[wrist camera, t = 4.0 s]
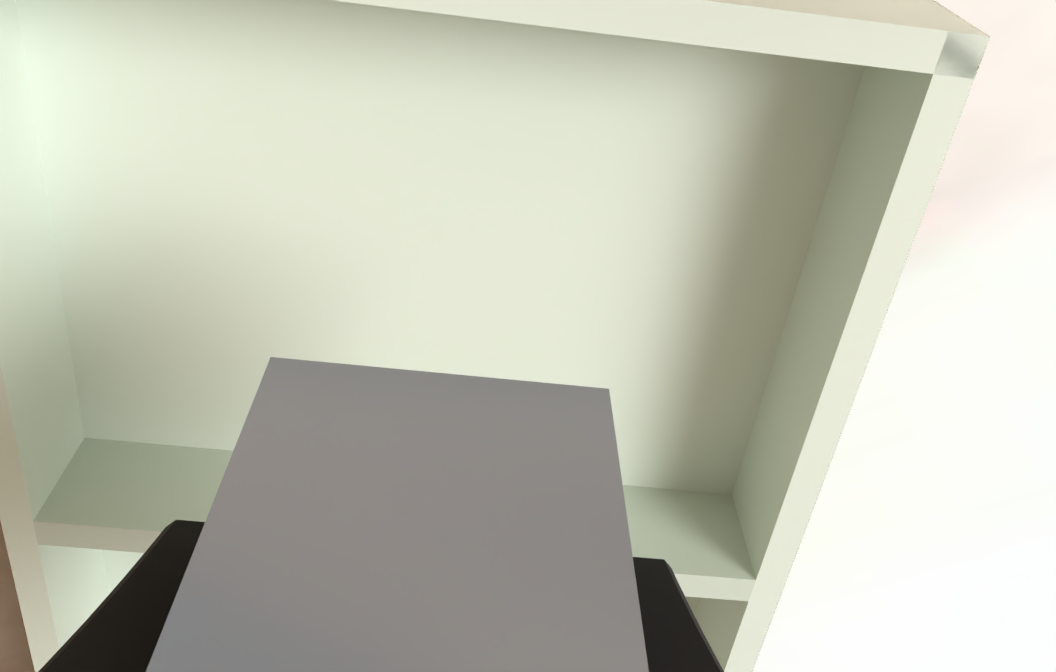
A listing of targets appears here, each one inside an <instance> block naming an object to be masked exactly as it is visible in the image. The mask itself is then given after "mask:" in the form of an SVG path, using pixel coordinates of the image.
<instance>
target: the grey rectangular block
mask: <svg viewBox="0 0 1056 672" xmlns="http://www.w3.org/2000/svg"><path fill="white" fill-rule="evenodd" d="M146 672H649V669H648V662H647V655H646V648H645V641H644V634H643V626H642V619H641V612H640V605H639V598H638V591H637V584H636V577H635V570H634V563H633V555H632V548H631V541H630V534H629V527H628V520H627V513H626V506H625V499H624V492H623V485H622V477H621V470H620V463H619V456H618V449H617V442H616V435H615V428H614V421H613V414H612V406H611V399H610V392H609V389H606V388H596V387H585V386H575V385H564V384H553V383H543V382H532V381H521V380H511V379H500V378H489V377H479V376H468V375H457V374H447V373H436V372H426V371H415V370H404V369H394V368H383V367H372V366H362V365H351V364H340V363H330V362H319V361H309V360H298V359H287V358H277V357H270V360H269V362H268V365H267V367H266V370H265V372H264V375H263V377H262V380H261V382H260V385H259V387H258V390H257V392H256V395H255V398H254V400H253V403H252V405H251V408H250V410H249V413H248V415H247V418H246V420H245V423H244V425H243V428H242V430H241V433H240V435H239V438H238V440H237V443H236V445H235V448H234V451H233V453H232V456H231V458H230V461H229V463H228V466H227V468H226V471H225V473H224V476H223V478H222V481H221V483H220V486H219V488H218V491H217V493H216V496H215V498H214V501H213V504H212V506H211V509H210V511H209V514H208V516H207V519H206V521H205V524H204V526H203V529H202V531H201V534H200V536H199V539H198V541H197V544H196V546H195V549H194V551H193V554H192V556H191V559H190V562H189V564H188V567H187V569H186V572H185V574H184V577H183V579H182V582H181V584H180V587H179V589H178V592H177V594H176V597H175V599H174V602H173V604H172V607H171V609H170V612H169V615H168V617H167V620H166V622H165V625H164V627H163V630H162V632H161V635H160V637H159V640H158V642H157V645H156V647H155V650H154V652H153V655H152V657H151V660H150V662H149V665H148V667H147V670H146Z"/></svg>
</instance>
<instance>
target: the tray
mask: <svg viewBox="0 0 1056 672" xmlns="http://www.w3.org/2000/svg"><path fill="white" fill-rule="evenodd" d="M989 38H990V36H989V35H987V34H986V33H984V32H983V31H981V30H979V29H978V28H976V27H975V26H973V25H972V24H970V23H969V22H967V21H965V20H964V19H962V18H961V17H959V16H958V15H956V14H954V13H953V12H951V11H950V10H948V9H947V8H945V7H943V6H942V5H940V4H939V3H937V2H936V1H934V0H0V522H1V526H2V530H3V535H4V539H5V543H6V548H7V552H8V556H9V561H10V565H11V570H12V574H13V578H14V583H15V587H16V591H17V596H18V600H19V604H20V609H21V613H22V618H23V622H24V626H25V631H26V635H27V639H28V644H29V648H30V652H31V657H32V661H33V666H34V670H35V672H38V671H39V670H40V669H41V668H42V667H43V666H44V665H45V664H46V663H47V662H48V661H49V660H50V659H51V657H52V656H53V655H54V654H55V653H56V652H57V651H58V650H59V649H60V648H61V647H62V646H63V645H64V644H65V643H66V641H67V640H68V639H69V638H70V637H71V636H72V635H73V634H74V633H75V632H76V631H77V630H78V629H79V628H80V626H81V625H82V624H83V623H84V622H85V621H86V620H87V619H88V618H89V617H90V615H91V614H92V613H93V612H94V611H95V610H96V609H97V608H98V606H99V605H100V604H101V603H102V602H103V601H104V600H105V598H106V597H107V596H108V595H109V594H110V593H111V592H112V591H113V589H114V588H115V587H116V586H117V585H118V584H119V582H120V581H121V580H122V579H123V578H124V577H125V575H126V574H127V573H128V572H129V571H130V570H131V568H132V567H133V566H134V565H135V564H136V562H137V561H138V560H139V559H140V558H141V556H142V555H143V554H144V553H145V552H146V550H147V549H148V548H149V547H150V546H151V544H152V543H153V542H154V541H155V540H156V538H157V537H158V536H159V535H160V533H161V532H162V531H163V530H164V528H165V527H166V526H168V525H169V524H171V523H172V522H173V521H175V520H186V521H199V522H205V521H206V519H207V516H208V514H209V511H210V509H211V506H212V504H213V501H214V498H215V496H216V493H217V491H218V488H219V486H220V483H221V481H222V478H223V476H224V473H225V471H226V468H227V466H228V463H229V461H230V458H231V456H232V453H233V451H234V448H235V445H236V443H237V440H238V438H239V435H240V433H241V430H242V428H243V425H244V423H245V420H246V418H247V415H248V413H249V410H250V408H251V405H252V403H253V400H254V398H255V395H256V392H257V390H258V387H259V385H260V382H261V380H262V377H263V375H264V372H265V370H266V367H267V365H268V362H269V360H270V357H277V358H287V359H298V360H309V361H319V362H330V363H340V364H351V365H362V366H372V367H383V368H394V369H404V370H415V371H426V372H436V373H447V374H457V375H468V376H479V377H489V378H500V379H511V380H521V381H532V382H543V383H553V384H564V385H575V386H585V387H596V388H606V389H609V392H610V399H611V406H612V414H613V421H614V428H615V435H616V442H617V449H618V456H619V463H620V470H621V477H622V485H623V492H624V499H625V506H626V513H627V520H628V527H629V534H630V541H631V548H632V555H633V557H641V558H653V559H664V560H665V561H666V562H667V563H668V564H669V566H670V567H671V568H672V570H673V572H674V574H675V577H676V579H677V581H678V583H679V585H680V587H681V589H682V591H683V593H684V595H685V597H686V600H687V602H688V604H689V606H690V608H691V610H692V612H693V614H694V616H695V618H696V620H697V622H698V623H699V625H700V627H701V629H702V631H703V633H704V635H705V637H706V639H707V641H708V643H709V645H710V646H711V648H712V650H713V652H714V654H715V656H716V658H717V659H718V661H719V663H720V665H721V667H722V669H723V671H724V672H752V671H753V669H754V666H755V663H756V661H757V658H758V655H759V653H760V650H761V647H762V645H763V642H764V639H765V637H766V634H767V631H768V629H769V626H770V623H771V621H772V618H773V615H774V613H775V610H776V607H777V605H778V602H779V599H780V597H781V594H782V591H783V589H784V586H785V583H786V581H787V578H788V575H789V573H790V570H791V567H792V565H793V562H794V559H795V557H796V554H797V551H798V549H799V546H800V543H801V541H802V538H803V535H804V533H805V530H806V527H807V525H808V522H809V519H810V517H811V514H812V511H813V509H814V506H815V503H816V500H817V498H818V495H819V492H820V490H821V487H822V484H823V482H824V479H825V476H826V474H827V471H828V468H829V466H830V463H831V460H832V458H833V455H834V452H835V450H836V447H837V444H838V442H839V439H840V436H841V434H842V431H843V428H844V426H845V423H846V420H847V418H848V415H849V412H850V410H851V407H852V404H853V402H854V399H855V396H856V394H857V391H858V388H859V386H860V383H861V380H862V378H863V375H864V372H865V370H866V367H867V364H868V362H869V359H870V356H871V354H872V351H873V348H874V346H875V343H876V340H877V338H878V335H879V332H880V330H881V327H882V324H883V321H884V319H885V316H886V313H887V311H888V308H889V305H890V303H891V300H892V297H893V295H894V292H895V289H896V287H897V284H898V281H899V279H900V276H901V273H902V271H903V268H904V265H905V263H906V260H907V257H908V255H909V252H910V249H911V247H912V244H913V241H914V239H915V236H916V233H917V231H918V228H919V225H920V223H921V220H922V217H923V215H924V212H925V209H926V207H927V204H928V201H929V199H930V196H931V193H932V191H933V188H934V185H935V183H936V180H937V177H938V175H939V172H940V169H941V167H942V164H943V161H944V159H945V156H946V153H947V151H948V148H949V145H950V142H951V140H952V137H953V134H954V132H955V129H956V126H957V124H958V121H959V118H960V116H961V113H962V110H963V108H964V105H965V102H966V100H967V97H968V94H969V92H970V89H971V86H972V84H973V81H974V78H975V76H976V73H977V70H978V68H979V65H980V62H981V60H982V57H983V54H984V52H985V49H986V46H987V44H988V41H989Z"/></svg>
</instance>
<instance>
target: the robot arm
mask: <svg viewBox="0 0 1056 672" xmlns="http://www.w3.org/2000/svg"><path fill="white" fill-rule="evenodd" d="M204 524H205V522H199V521H186V520H175V521H173V522H172V523H171V524H169V525H168V526H166V527H165V528H164V530H163V531H162V532H161V533H160V535H159V536H158V537H157V538H156V540H155V541H154V542H153V543H152V544H151V546H150V547H149V548H148V549H147V550H146V552H145V553H144V554H143V555H142V556H141V558H140V559H139V560H138V561H137V562H136V564H135V565H134V566H133V567H132V568H131V570H130V571H129V572H128V573H127V574H126V575H125V577H124V578H123V579H122V580H121V581H120V582H119V584H118V585H117V586H116V587H115V588H114V589H113V591H112V592H111V593H110V594H109V595H108V596H107V597H106V598H105V600H104V601H103V602H102V603H101V604H100V605H99V606H98V608H97V609H96V610H95V611H94V612H93V613H92V614H91V615H90V617H89V618H88V619H87V620H86V621H85V622H84V623H83V624H82V625H81V626H80V628H79V629H78V630H77V631H76V632H75V633H74V634H73V635H72V636H71V637H70V638H69V639H68V640H67V641H66V643H65V644H64V645H63V646H62V647H61V648H60V649H59V650H58V651H57V652H56V653H55V654H54V655H53V656H52V657H51V659H50V660H49V661H48V662H47V663H46V664H45V665H44V666H43V667H42V668H41V669H40V670H39V671H38V672H146V670H147V667H148V665H149V662H150V660H151V657H152V655H153V652H154V650H155V647H156V645H157V642H158V640H159V637H160V635H161V632H162V630H163V627H164V625H165V622H166V620H167V617H168V615H169V612H170V609H171V607H172V604H173V602H174V599H175V597H176V594H177V592H178V589H179V587H180V584H181V582H182V579H183V577H184V574H185V572H186V569H187V567H188V564H189V562H190V559H191V556H192V554H193V551H194V549H195V546H196V544H197V541H198V539H199V536H200V534H201V531H202V529H203V526H204ZM633 563H634V570H635V577H636V584H637V591H638V598H639V605H640V612H641V619H642V626H643V634H644V641H645V648H646V655H647V662H648V669H649V672H724V671H723V669H722V667H721V665H720V663H719V661H718V659H717V658H716V656H715V654H714V652H713V650H712V648H711V646H710V645H709V643H708V641H707V639H706V637H705V635H704V633H703V631H702V629H701V627H700V625H699V623H698V622H697V620H696V618H695V616H694V614H693V612H692V610H691V608H690V606H689V604H688V602H687V600H686V597H685V595H684V593H683V591H682V589H681V587H680V585H679V583H678V581H677V579H676V577H675V574H674V572H673V570H672V568H671V567H670V566H669V564H668V563H667V562H666V561H665V560H664V559H653V558H641V557H633Z"/></svg>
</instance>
